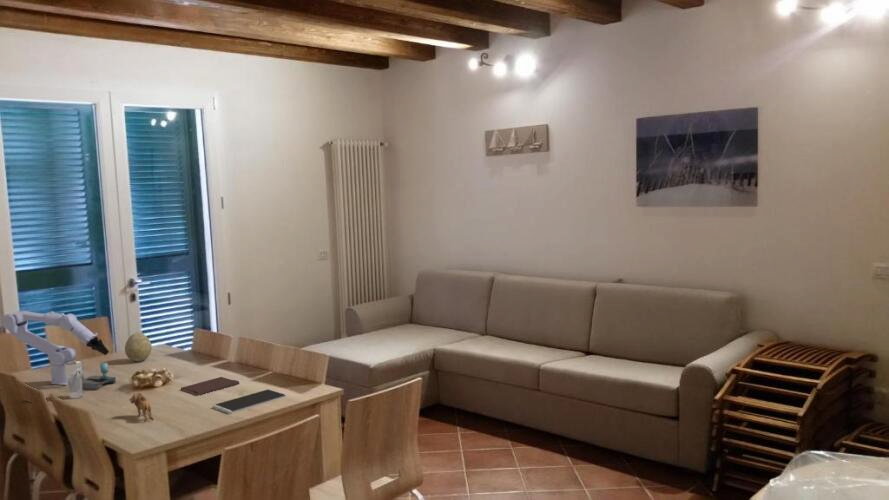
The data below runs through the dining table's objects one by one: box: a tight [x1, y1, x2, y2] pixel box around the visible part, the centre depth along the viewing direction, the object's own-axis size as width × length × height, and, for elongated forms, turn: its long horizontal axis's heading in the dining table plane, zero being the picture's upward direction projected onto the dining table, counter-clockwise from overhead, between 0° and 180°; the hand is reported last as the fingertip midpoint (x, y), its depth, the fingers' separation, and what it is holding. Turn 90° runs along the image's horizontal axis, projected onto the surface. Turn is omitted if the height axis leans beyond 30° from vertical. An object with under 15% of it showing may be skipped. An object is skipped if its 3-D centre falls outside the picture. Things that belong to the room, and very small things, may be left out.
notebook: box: [180, 376, 240, 396], centre depth 298 cm, size 15×20×2 cm
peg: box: [99, 362, 111, 377], centre depth 318 cm, size 4×4×7 cm
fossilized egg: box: [124, 332, 153, 363], centre depth 350 cm, size 13×13×15 cm
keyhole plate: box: [83, 375, 117, 391], centre depth 307 cm, size 13×11×3 cm
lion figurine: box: [128, 392, 155, 423], centre depth 260 cm, size 15×5×9 cm, turn 50°
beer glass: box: [65, 360, 85, 400], centre depth 291 cm, size 7×7×15 cm
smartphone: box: [212, 389, 288, 415], centre depth 275 cm, size 13×27×2 cm, turn 139°
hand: (105, 352), depth 312 cm, fingers open, 7 cm apart
